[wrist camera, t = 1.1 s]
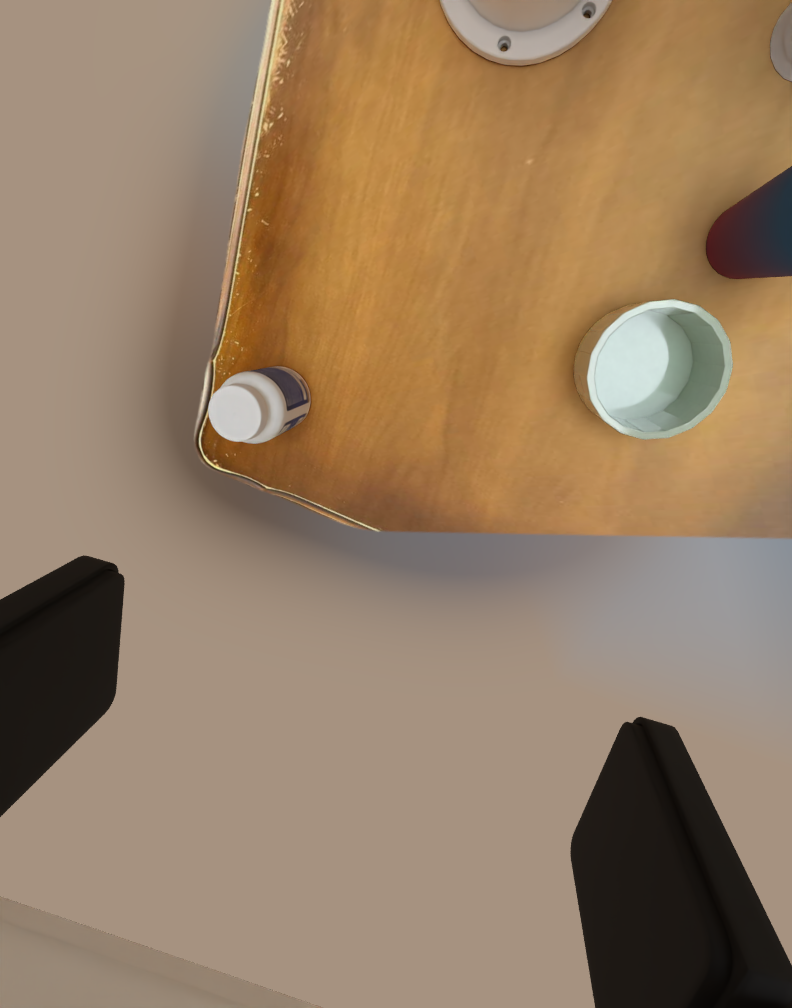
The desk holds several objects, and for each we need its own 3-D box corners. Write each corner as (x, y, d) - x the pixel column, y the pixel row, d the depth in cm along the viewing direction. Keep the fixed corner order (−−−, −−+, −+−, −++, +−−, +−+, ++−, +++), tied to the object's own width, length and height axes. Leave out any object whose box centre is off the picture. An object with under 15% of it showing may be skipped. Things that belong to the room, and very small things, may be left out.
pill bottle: (257, 359, 47) (201, 366, 38) (317, 373, 47) (275, 384, 38) (249, 420, 49) (194, 441, 40) (306, 434, 49) (265, 459, 39)
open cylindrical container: (597, 290, 42) (616, 283, 35) (717, 321, 41) (758, 320, 35) (556, 406, 45) (567, 418, 38) (668, 437, 44) (697, 454, 38)
